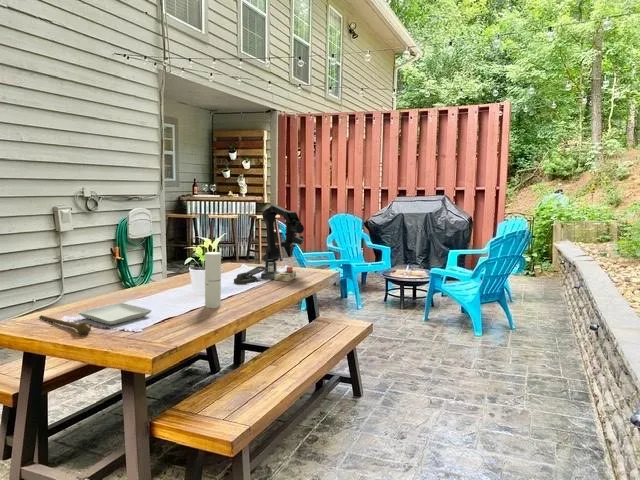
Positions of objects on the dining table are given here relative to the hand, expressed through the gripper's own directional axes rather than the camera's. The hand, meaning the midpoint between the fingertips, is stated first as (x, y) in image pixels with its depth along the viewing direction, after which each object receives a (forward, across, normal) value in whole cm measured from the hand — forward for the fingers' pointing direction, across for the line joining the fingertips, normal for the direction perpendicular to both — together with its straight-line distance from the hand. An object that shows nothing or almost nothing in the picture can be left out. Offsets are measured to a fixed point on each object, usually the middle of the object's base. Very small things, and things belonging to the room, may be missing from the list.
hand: (289, 256), depth 305 cm
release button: (+10, 0, 0) cm, 10 cm away
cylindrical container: (+12, -84, +8) cm, 85 cm away
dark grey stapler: (+12, -23, +16) cm, 30 cm away
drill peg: (+12, -9, +9) cm, 17 cm away
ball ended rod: (+12, -134, +46) cm, 142 cm away
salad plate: (+13, -116, +36) cm, 122 cm away
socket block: (+12, -5, +5) cm, 14 cm away
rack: (+12, -12, -1) cm, 17 cm away
